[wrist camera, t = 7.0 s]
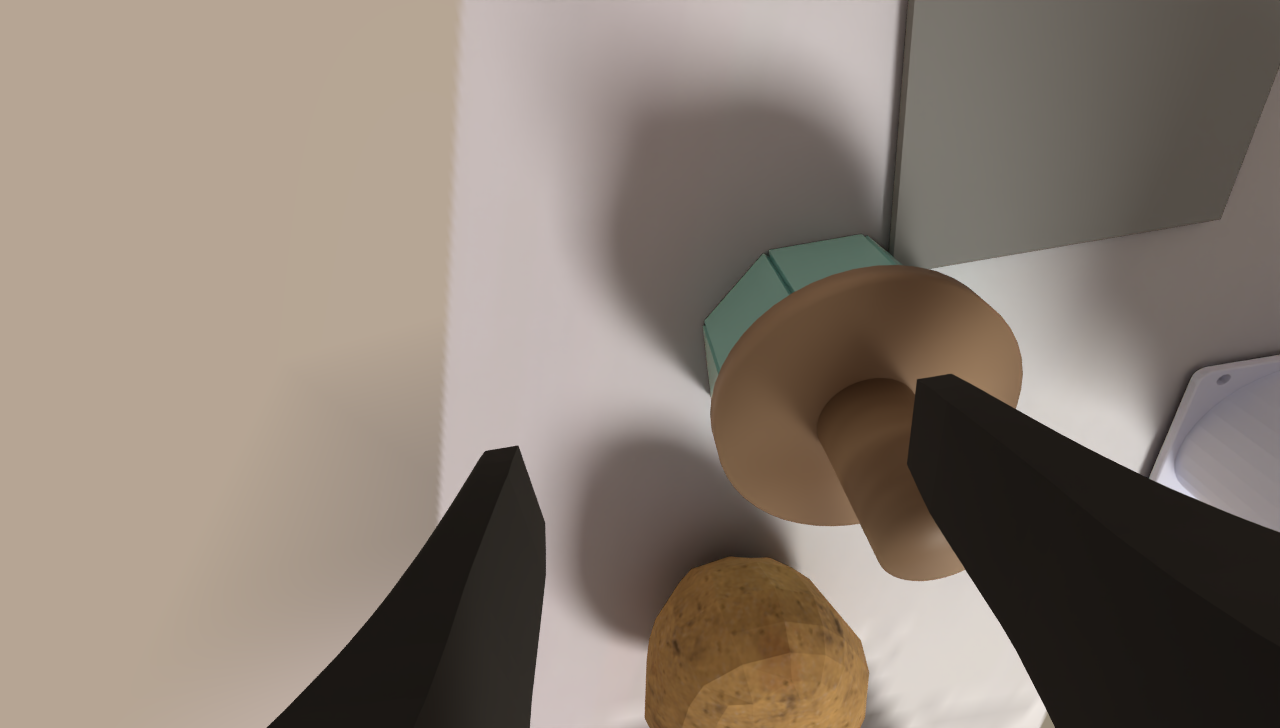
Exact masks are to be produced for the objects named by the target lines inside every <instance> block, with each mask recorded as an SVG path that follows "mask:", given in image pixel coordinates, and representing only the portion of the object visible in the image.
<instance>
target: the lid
mask: <svg viewBox="0 0 1280 728" xmlns="http://www.w3.org/2000/svg"><path fill="white" fill-rule="evenodd" d="M946 374H953V375H955V376H957V377H959V378H961V379H963V380H965V381H967V382H969V383H970V384H972V385H974V386H976V387H978V388H979V389H981V390H983V391H985V392H986V393H988V394H990V395H992V396H994V397H995V398H997V399H999V400H1001V401H1002V402H1004V403H1006V404H1008V405H1009V406H1011V407H1013V408H1015V409H1016V406H1017V403H1018V399H1019V395H1020V392H1021V385H1022V375H1023V371H1022V358H1021V354H1020V350H1019V346H1018V343H1017V340H1016V338H1015V336H1014V334H1013V332H1012V330H1011V328H1010V327H1009V326H1008V324H1007V323H1006V322H1005V320H1004V319H1003V318H1002V316H1001V315H1000V314H999V313H997V312H996V311H995V310H994V309H993V308H992V307H991V306H990V305H988V304H987V303H986V302H985V301H984V300H983V299H981V298H980V297H979V296H978V295H977V294H976V293H974V292H973V291H972V290H971V289H970V288H969V287H967V286H965V285H964V284H962V283H961V282H959V281H957V280H956V279H954V278H952V277H949V276H947V275H944V274H942V273H939V272H937V271H933V270H929V269H925V268H920V267H914V266H904V265H878V266H870V267H863V268H857V269H852V270H848V271H845V272H841V273H837V274H834V275H831V276H828V277H826V278H823V279H821V280H818V281H815V282H813V283H811V284H809V285H807V286H805V287H803V288H801V289H799V290H797V291H795V292H793V293H792V294H790V295H789V296H787V297H786V298H784V299H783V300H781V301H780V302H778V303H777V304H775V305H774V306H772V307H771V308H770V309H769V310H767V311H766V312H765V313H764V314H763V315H762V316H760V317H759V318H758V319H757V320H756V321H755V322H754V323H753V324H752V325H751V326H750V327H749V328H748V329H747V330H746V331H745V332H744V333H743V335H742V336H741V337H740V339H739V340H738V341H737V343H736V344H735V345H734V347H733V348H732V349H731V351H730V353H729V354H728V356H727V358H726V360H725V361H724V363H723V365H722V367H721V369H720V372H719V374H718V377H717V379H716V382H715V386H714V390H713V394H712V398H711V411H710V417H711V428H712V432H713V436H714V440H715V444H716V448H717V451H718V455H719V459H720V462H721V465H722V467H723V470H724V472H725V474H726V476H727V478H728V479H729V481H730V482H731V483H732V485H733V486H734V488H735V489H736V490H737V491H738V492H739V493H740V494H741V495H742V496H743V497H744V498H745V499H746V500H748V501H749V502H750V503H752V504H753V505H754V506H756V507H757V508H759V509H761V510H763V511H765V512H767V513H769V514H771V515H773V516H776V517H779V518H781V519H784V520H788V521H792V522H796V523H801V524H808V525H815V526H843V525H853V524H860V525H861V527H862V529H863V531H864V533H865V535H866V537H867V539H868V541H869V543H870V545H871V547H872V549H873V551H874V553H875V555H876V558H877V560H878V562H879V563H880V565H881V567H882V568H883V569H884V570H885V571H886V572H888V573H889V574H891V575H893V576H895V577H897V578H900V579H904V580H911V581H928V580H935V579H940V578H944V577H947V576H951V575H954V574H956V573H959V572H961V571H963V570H965V568H964V567H963V565H962V564H961V562H960V560H959V559H958V557H957V556H956V554H955V553H954V551H953V550H952V548H951V546H950V545H949V543H948V542H947V540H946V539H945V537H944V535H943V534H942V532H941V531H940V529H939V528H938V526H937V524H936V523H935V521H934V519H933V518H932V516H931V515H930V513H929V511H928V509H927V507H926V505H925V503H924V501H923V498H922V496H921V494H920V492H919V490H918V488H917V486H916V484H915V481H914V479H913V477H912V475H911V472H910V470H909V468H908V466H907V459H908V450H909V442H910V433H911V425H912V416H913V408H914V400H915V391H916V383H917V379H922V378H928V377H934V376H940V375H946Z"/></svg>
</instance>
